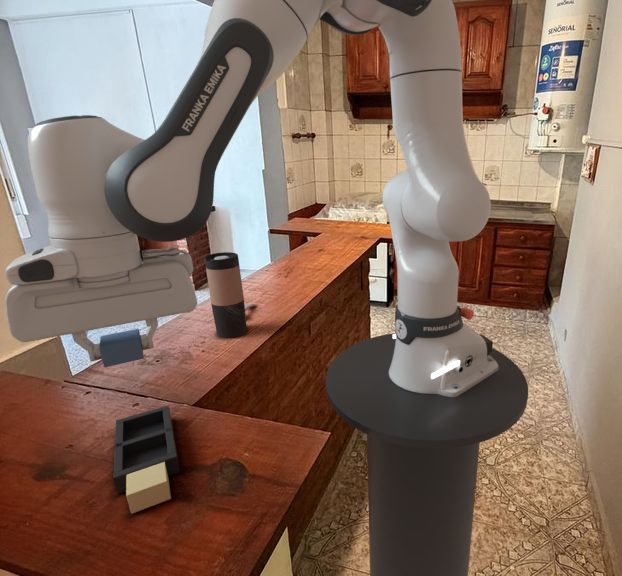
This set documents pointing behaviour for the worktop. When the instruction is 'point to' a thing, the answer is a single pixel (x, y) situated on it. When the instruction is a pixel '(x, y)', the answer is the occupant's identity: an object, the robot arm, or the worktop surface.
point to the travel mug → (226, 294)
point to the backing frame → (144, 444)
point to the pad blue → (121, 347)
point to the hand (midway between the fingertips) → (123, 353)
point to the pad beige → (147, 487)
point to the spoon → (248, 307)
